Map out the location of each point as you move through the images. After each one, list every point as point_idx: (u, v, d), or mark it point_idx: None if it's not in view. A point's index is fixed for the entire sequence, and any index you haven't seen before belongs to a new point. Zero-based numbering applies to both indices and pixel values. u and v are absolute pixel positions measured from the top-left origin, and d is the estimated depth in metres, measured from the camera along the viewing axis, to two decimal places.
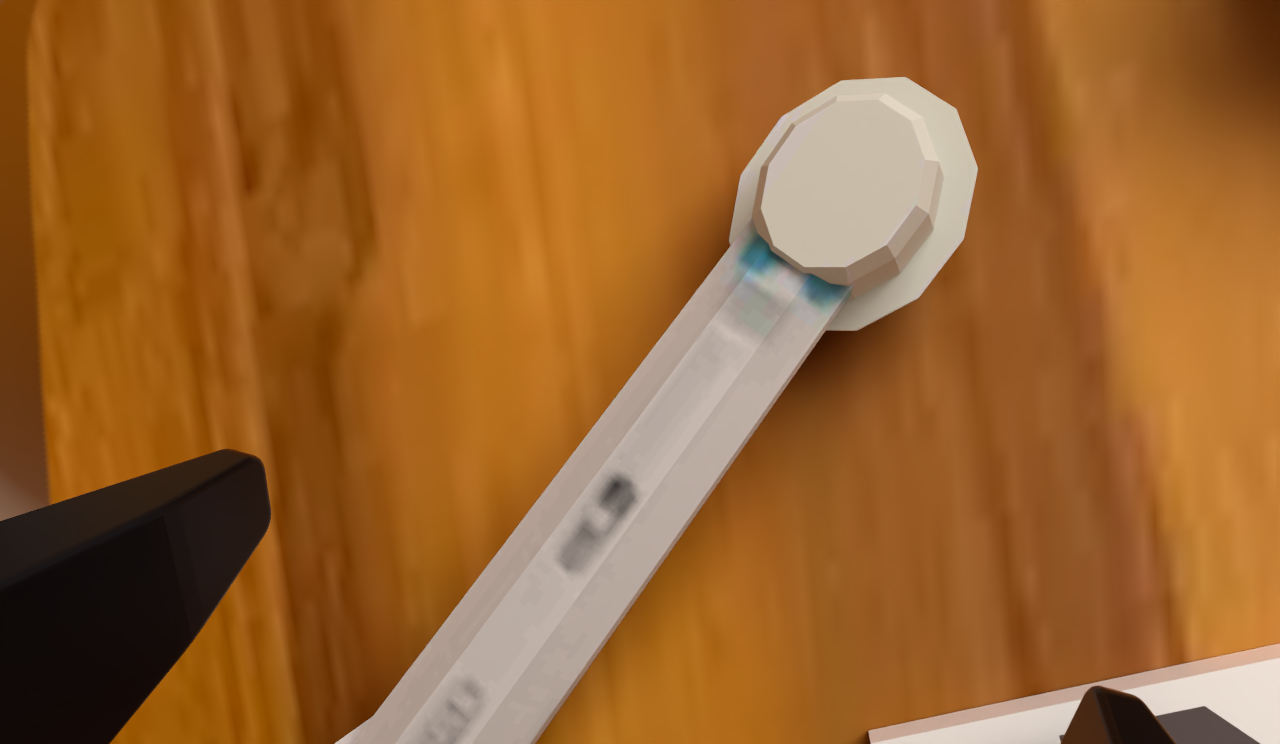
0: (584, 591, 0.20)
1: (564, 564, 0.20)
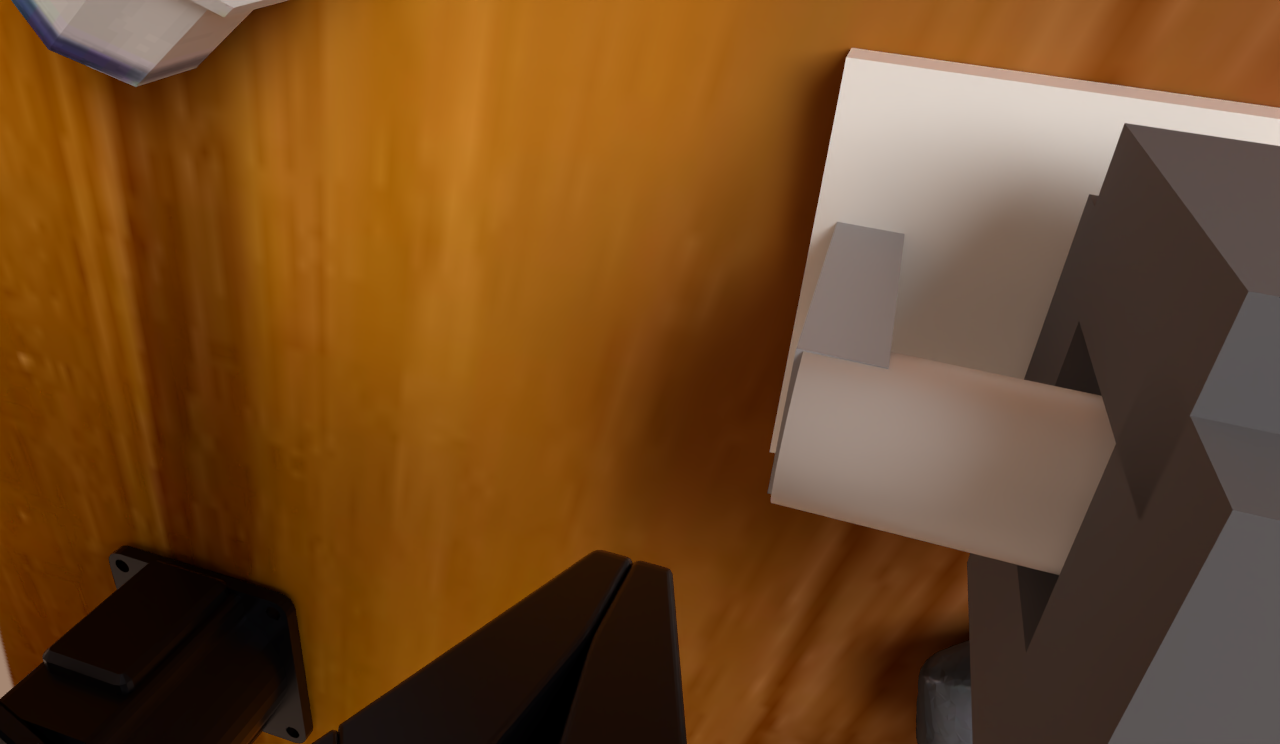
0: None
1: None
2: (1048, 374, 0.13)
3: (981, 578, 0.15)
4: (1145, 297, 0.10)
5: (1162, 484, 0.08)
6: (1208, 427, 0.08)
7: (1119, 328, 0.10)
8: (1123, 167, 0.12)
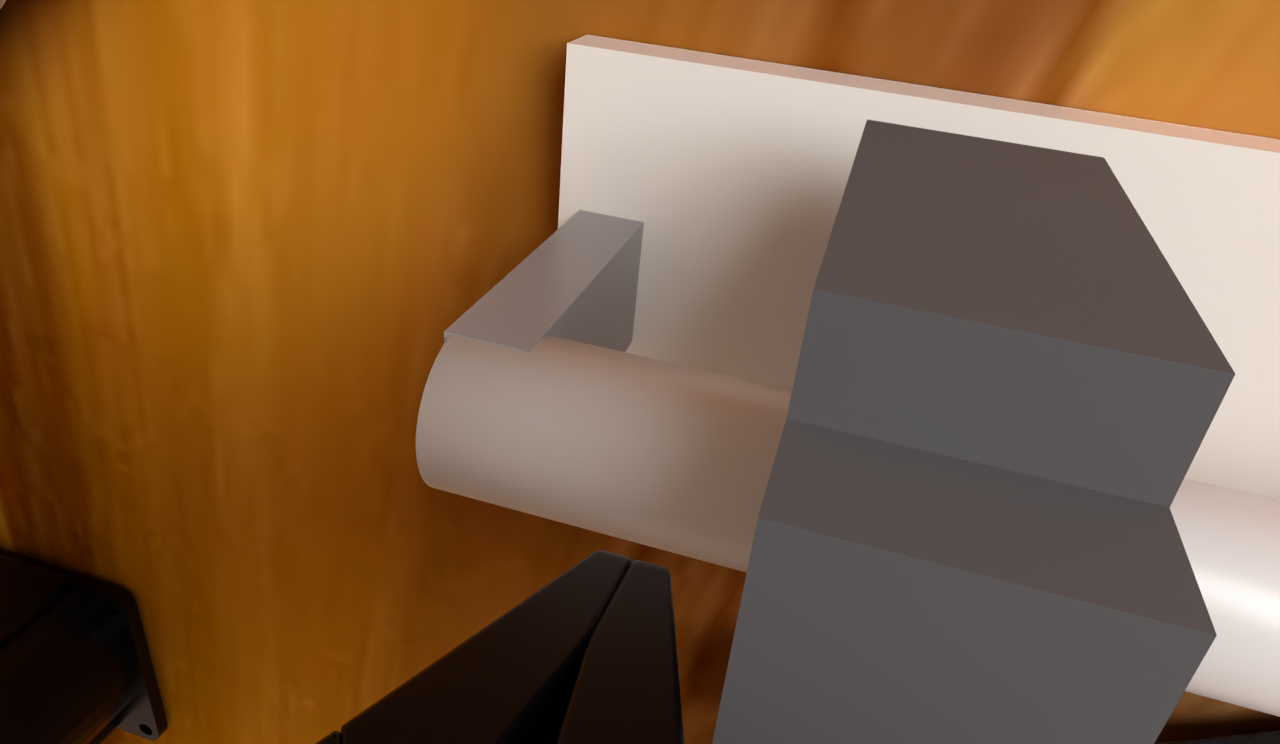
0: None
1: None
2: None
3: None
4: None
5: None
6: (797, 431, 0.07)
7: None
8: None
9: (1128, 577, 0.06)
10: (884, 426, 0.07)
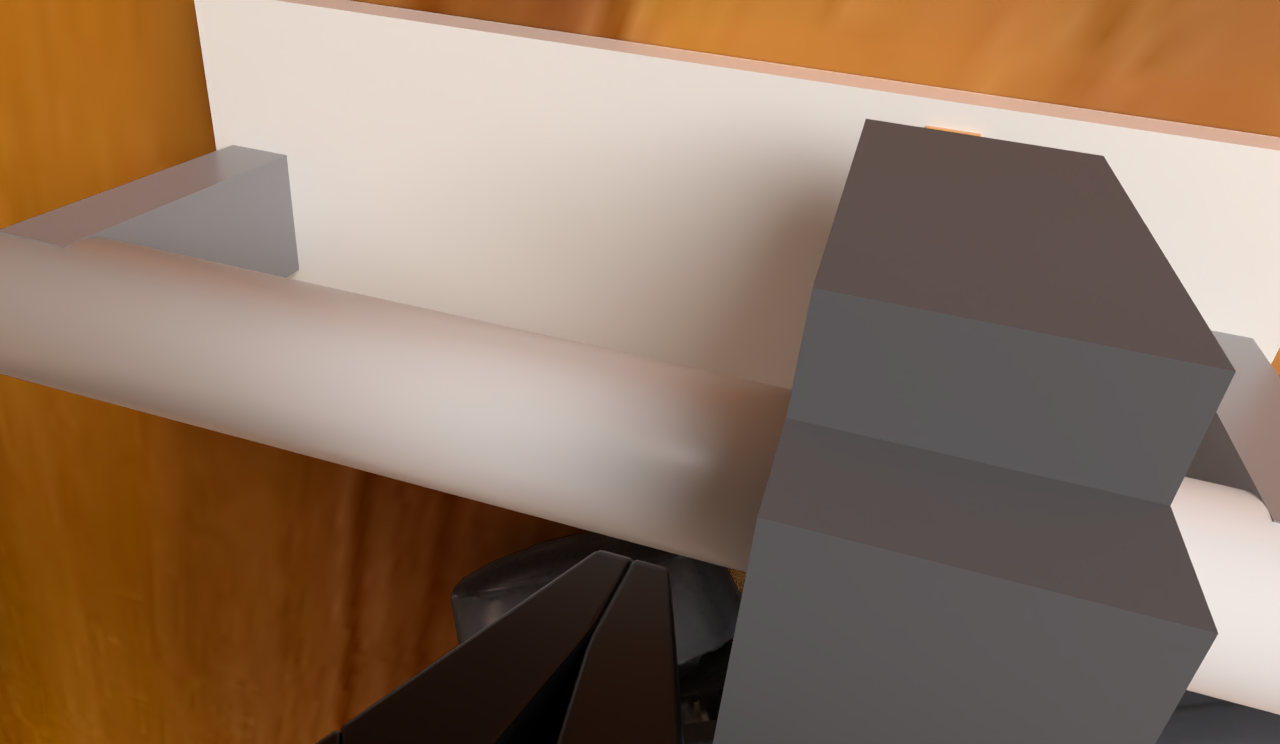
0: None
1: None
2: None
3: None
4: None
5: None
6: (796, 430, 0.07)
7: None
8: None
9: (1129, 575, 0.06)
10: (884, 425, 0.07)
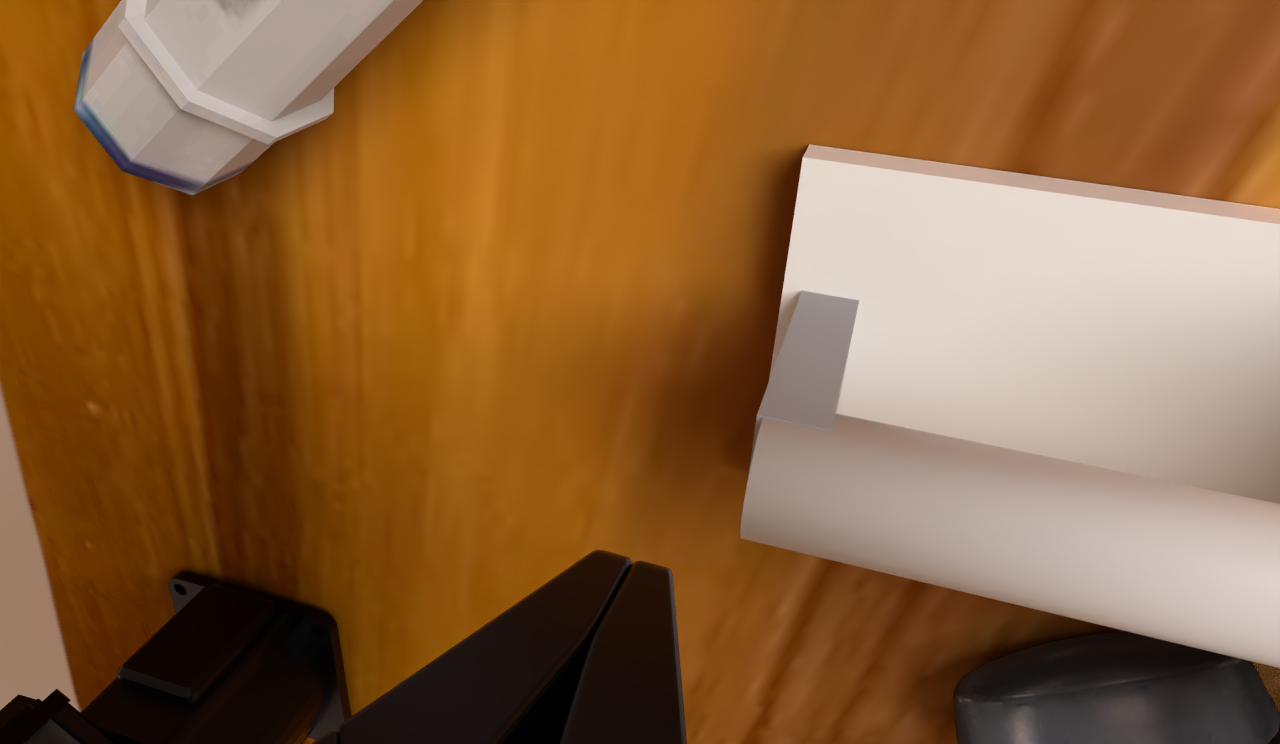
0: None
1: None
2: None
3: None
4: None
5: None
6: None
7: None
8: None
9: None
10: None
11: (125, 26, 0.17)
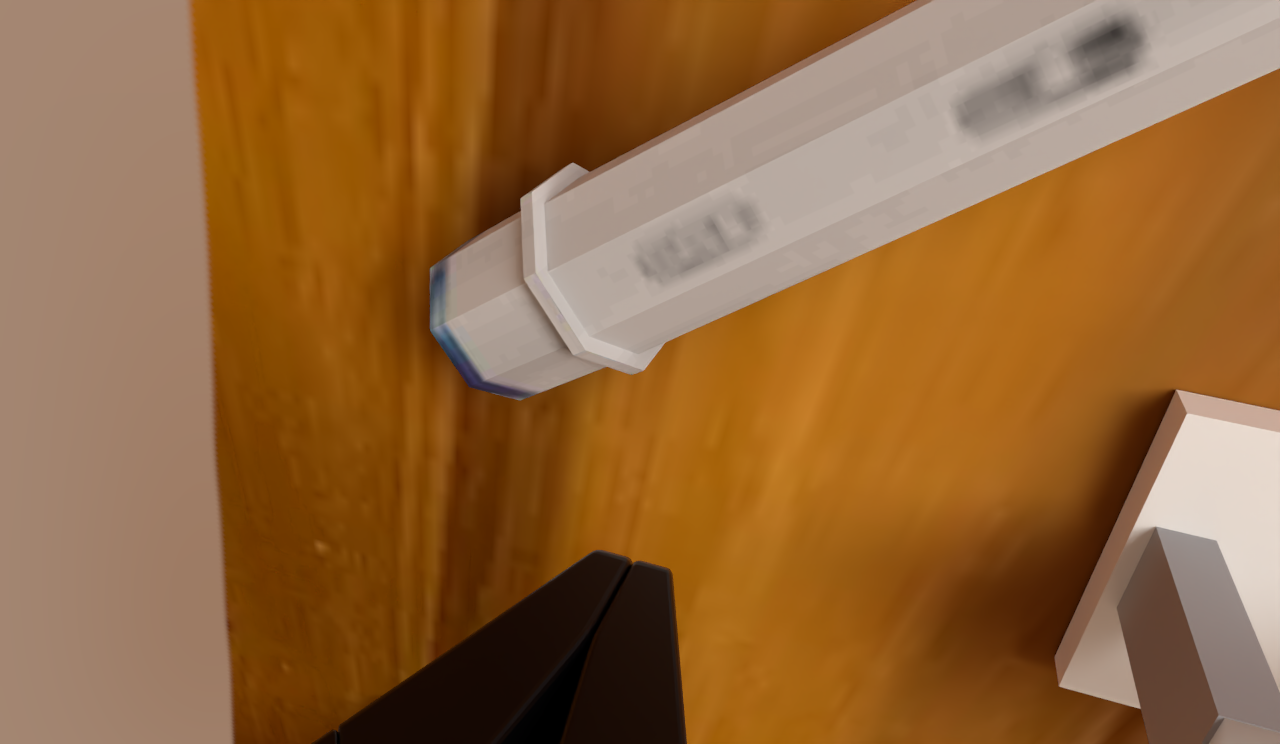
0: (970, 163, 0.14)
1: (961, 115, 0.13)
2: None
3: None
4: None
5: None
6: None
7: None
8: None
9: None
10: None
11: (532, 280, 0.17)
